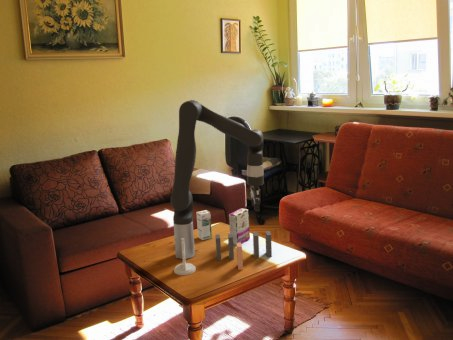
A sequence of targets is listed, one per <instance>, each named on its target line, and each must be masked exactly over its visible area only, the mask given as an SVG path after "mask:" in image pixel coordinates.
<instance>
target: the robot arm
mask: <svg viewBox="0 0 453 340" xmlns="http://www.w3.org/2000/svg"><path fill="white" fill-rule="evenodd" d="M197 122H201V123H204V124H206V125H209V126H211V127H213V128H214V129H216V130H217V131H219V132H221V133H223V134H224V135H226V136H229V137H231V138H234V139H236V140H238V141H240V142H241V143H242V144H244V145H246V146H248V152H247V158H246V159H247V160H246V163H247V167H246V184H247V185H248V186H250V198H251V206H252V207H254V211H255V212H260V211H261V210H260V209H261V208H260V206H261V205H260V204H261V203H262V201H261V199H262V198H261V188H260V186H263V185H264V183H265V180H264V179H265V178H264V177H265V176H264V175H265V173H264V155H263V152H264V151H263V150H264V141H265V139H264V134H263V132H262V131H261V130H259V129H252V130H251V129H250V128H248V127H245V125H244V124H242V123H240V122H238V121H235V120H233V119H231V118H228V117H226V116H223V115H221V114H219V113H217V112H214V111H213V110H211V109H210V108H208V107H206V106H205V105H203V104H202V103H200V102H198V101H197V100H195V99H193V100H192V99H190V100H187V101H184V102H182V104H180V105H179V109H178V133H177V134H178V135H177V141H176V150H175V156H174V157H175V158H174V178H173V179H174V180H173V187H172V192H171V196H170V205H171V207H172V208H173V211H174V213H173V216H172V217H173V219H172V220H173V234H174V235H173V236H174V252H175V259H181V260H183V258H182V241H181V238H184V244H185V259H186V260H187V259H191V258H194V257H195V256H196V252H195V251H196V249H195V237H194V235H195V233H194V221H193V220H194V219H193V218H194V202H193V201H194V200H193V194H192V192H191V191H190V182H191V179H192V175H193V173H194V169H195V164H196V159H197V158H196V156H197V144H196V137H195V136H196V135H195V132H196V125H197Z"/></svg>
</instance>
